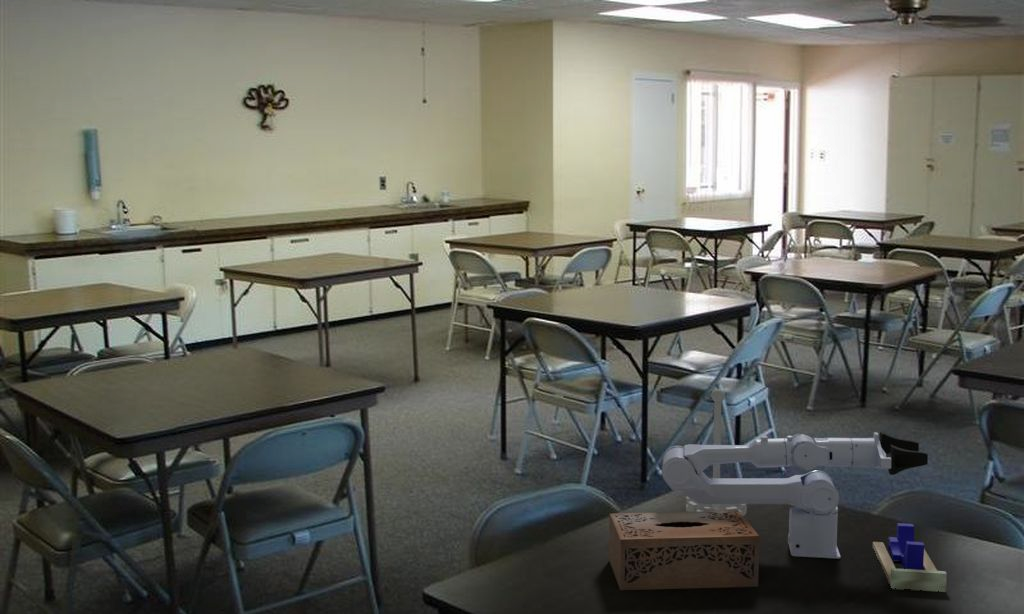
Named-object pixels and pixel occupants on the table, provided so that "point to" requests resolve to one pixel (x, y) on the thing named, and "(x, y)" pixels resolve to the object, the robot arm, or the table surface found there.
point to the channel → (911, 573)
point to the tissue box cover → (683, 550)
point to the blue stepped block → (906, 547)
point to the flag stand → (692, 505)
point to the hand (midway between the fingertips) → (922, 453)
